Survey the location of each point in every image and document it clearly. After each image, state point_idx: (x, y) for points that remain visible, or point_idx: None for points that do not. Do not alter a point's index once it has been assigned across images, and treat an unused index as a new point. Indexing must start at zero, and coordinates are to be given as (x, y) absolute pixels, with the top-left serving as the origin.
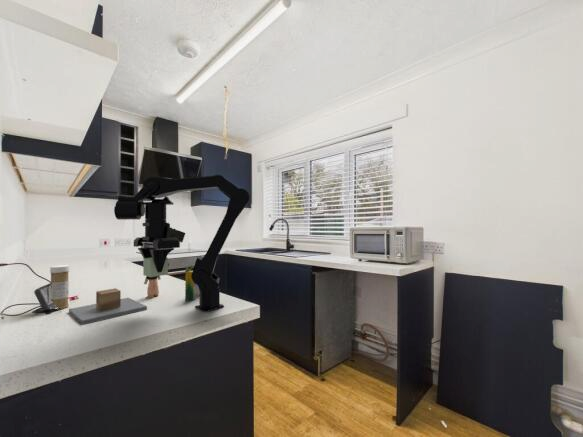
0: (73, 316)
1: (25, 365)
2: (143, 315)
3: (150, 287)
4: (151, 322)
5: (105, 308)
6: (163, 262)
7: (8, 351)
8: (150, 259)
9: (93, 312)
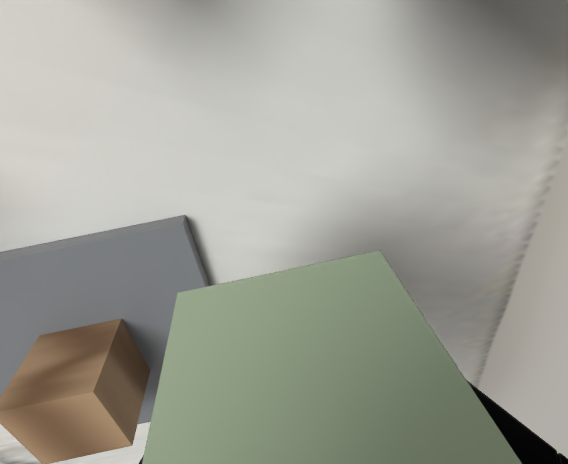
0: None
1: None
2: (282, 238)
3: None
4: (406, 225)
5: (142, 366)
6: (527, 443)
7: None
8: None
9: (153, 386)
